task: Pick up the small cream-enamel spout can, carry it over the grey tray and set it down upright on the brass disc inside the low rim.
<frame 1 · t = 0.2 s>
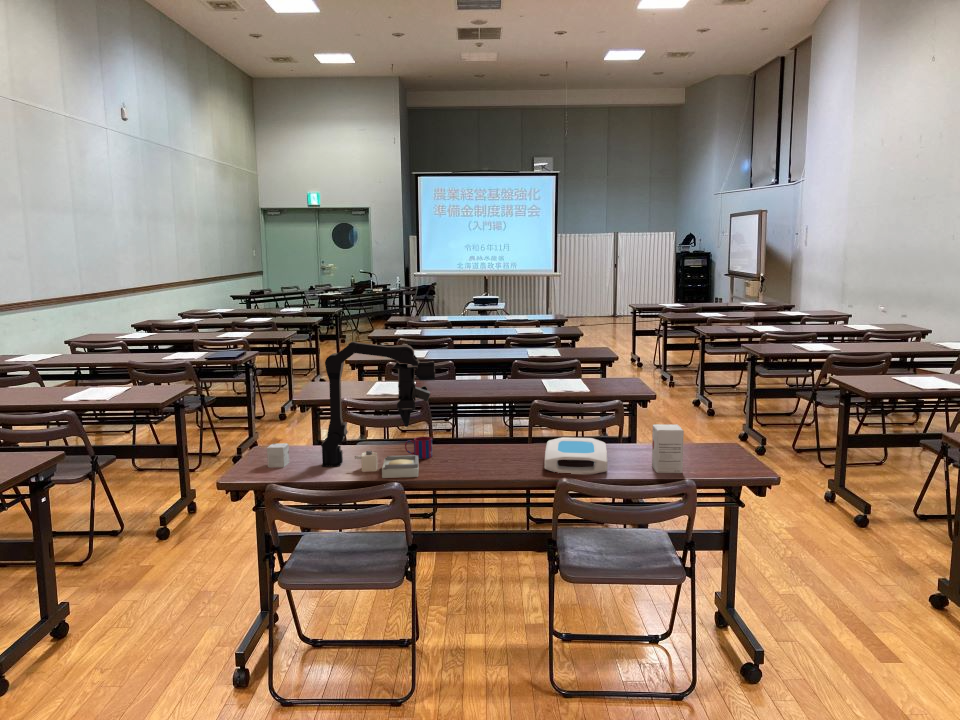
hand: (407, 423, 252), 14 cm above the table, fingers open, 9 cm apart
skincare box: (278, 465, 251), on the table
document scanner: (575, 464, 251), on the table
spout can: (369, 469, 245), on the table
supplement box: (666, 470, 241), on the table
mug: (418, 457, 261), on the table
grey tray: (400, 471, 242), on the table
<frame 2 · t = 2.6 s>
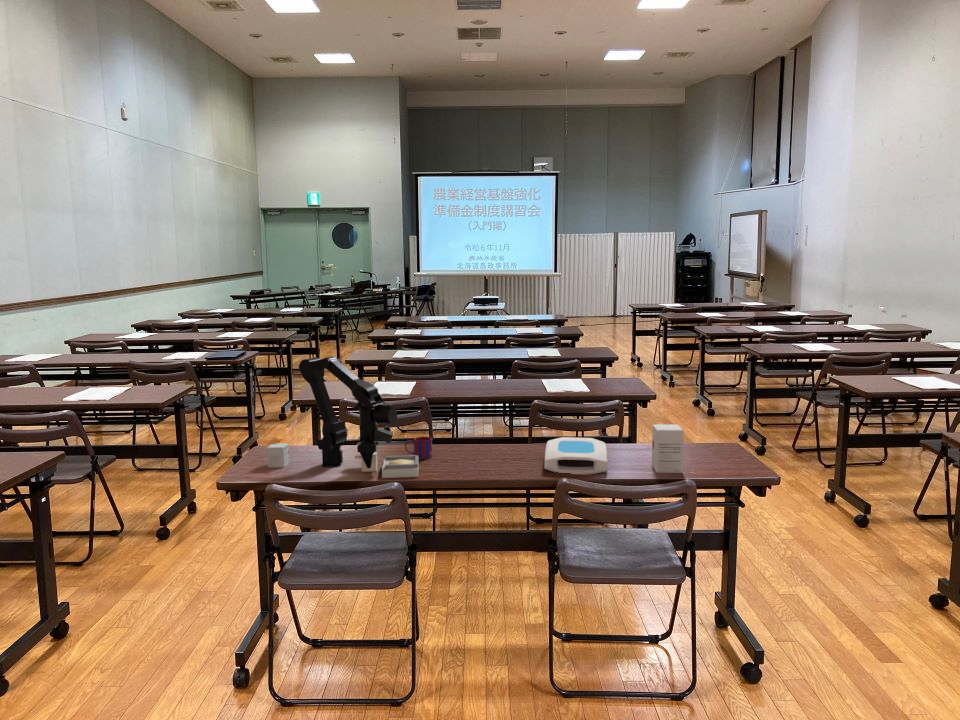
hand: (369, 465, 245), 1 cm above the table, fingers closed on spout can, 5 cm apart
spout can: (369, 469, 245), on the table, touching gripper
everything else where it was.
when the fingers open (5 cm above the table, at t = 5.7 s): spout can stays where it is, resting on grey tray.
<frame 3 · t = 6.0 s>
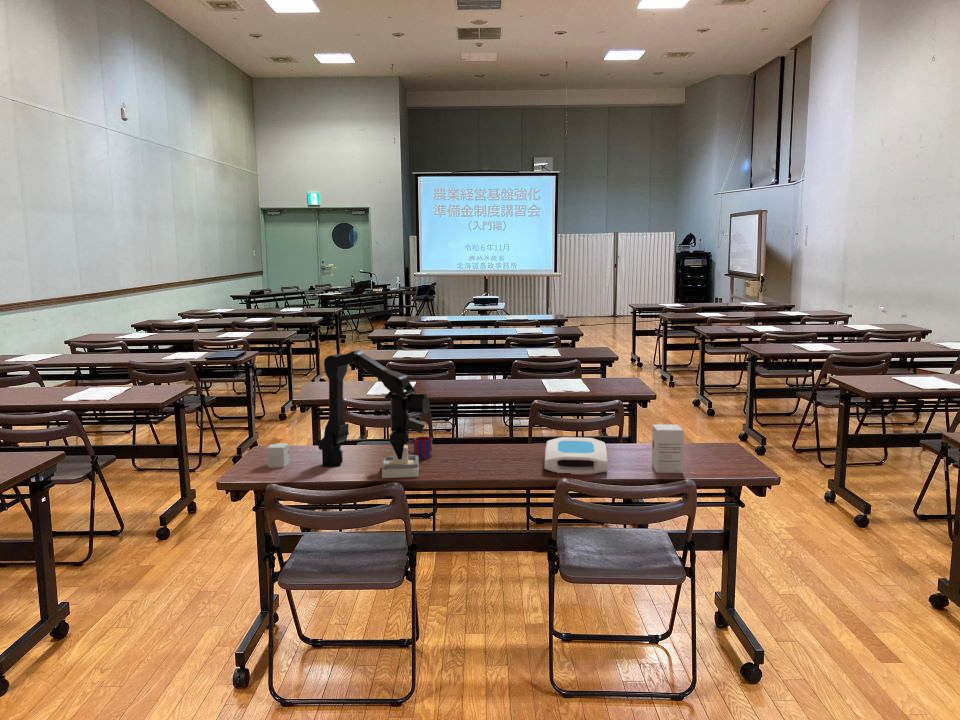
hand: (400, 456, 241), 5 cm above the table, fingers open, 8 cm apart
spout can: (400, 462, 242), point 3 cm above the table, touching grey tray
everything else where it was.
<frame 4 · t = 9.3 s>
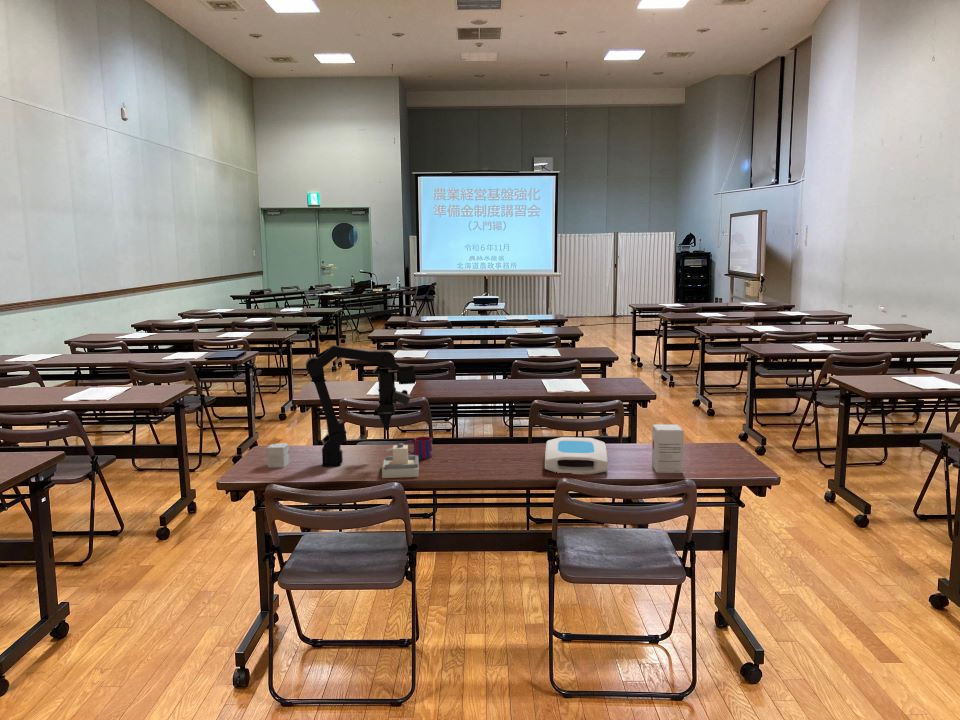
hand: (387, 427, 256), 12 cm above the table, fingers open, 9 cm apart
nothing on the table moved.
at the end: spout can inside the target area on the grey tray (0.0 cm from its centre), point 3.2 cm above the grey tray's base; spout can tilted 0°; the gripper is holding nothing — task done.
